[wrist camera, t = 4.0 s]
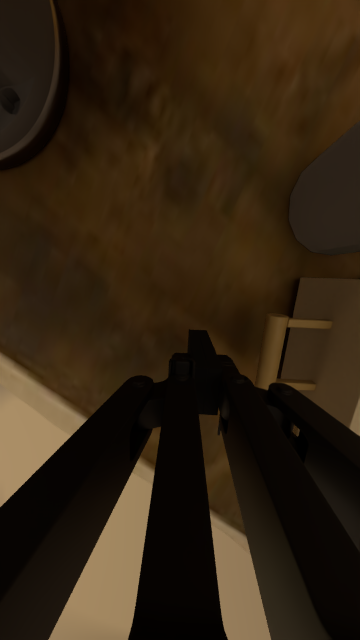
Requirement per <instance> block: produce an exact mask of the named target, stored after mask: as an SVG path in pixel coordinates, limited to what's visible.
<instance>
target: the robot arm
mask: <svg viewBox="0 0 360 640" xmlns="http://www.w3.org/2000/svg"><path fill="white" fill-rule="evenodd" d="M68 81H69V55H68V46H67V38H66V33H65V28H64V24H63V20H62V16H61V12H60V9H59V6H58V3H57V1H56V0H0V169H6V168H10V167H14V166H16V165H19V164H21V163H23V162H25V161H27V160H28V159H30V158H31V157H32V156H34V155H35V154H36V153H37V152H38V151H40V150H41V149H42V148H43V146H44V145H45V144H46V143H47V142H48V140H49V139H50V137H51V136H52V134H53V133H54V131H55V129H56V127H57V125H58V123H59V120H60V118H61V115H62V112H63V109H64V105H65V101H66V96H67V90H68ZM218 407H219V411H220V417H219V426H218V435H220V431H221V432H222V436H223V440H224V445H225V449H226V453H227V457H228V461H229V465H230V470H231V474H232V478H233V482H234V486H235V490H236V495H237V499H238V503H239V507H240V511H241V515H242V520H243V524H244V528H245V532H246V536H247V540H248V545H249V549H250V553H251V557H252V561H253V565H254V570H255V574H256V578H257V582H258V586H259V590H260V594H261V599H262V603H263V607H264V611H265V615H266V620H267V623H268V628H269V632H270V636H271V640H360V436H359V435H357V434H356V433H355V432H353V431H352V430H351V429H349V428H348V427H346V426H345V425H344V424H342V423H341V422H340V421H338V420H337V419H336V418H334V417H333V416H332V415H330V414H329V413H327V412H326V411H325V410H323V409H322V408H321V407H319V406H318V405H317V404H315V403H314V402H313V401H311V400H310V399H308V398H307V397H306V396H304V395H303V394H302V393H300V392H299V391H298V390H296V389H295V388H293V387H291V386H289V385H287V384H284V383H271V384H270V385H269V387H268V390H266V389H262V388H258V387H255V386H254V385H253V383H252V382H251V380H250V379H249V378H247V377H246V376H244V375H241V374H240V373H239V371H238V369H237V368H236V366H235V364H234V363H233V361H232V359H231V358H230V357H228V356H227V355H217V354H216V352H215V349H214V347H213V344H212V342H211V340H210V337H209V335H208V333H207V331H206V330H189V338H188V352H187V353H175V354H174V355H173V356H172V358H171V359H170V361H169V375H168V378H167V379H166V380H164V381H162V382H158V383H154V382H153V379H151V378H150V377H147V376H142V375H139V376H134V377H131V378H129V379H128V380H127V381H126V382H125V383H124V384H123V385H122V386H121V387H120V388H119V389H118V390H117V391H116V392H115V393H114V394H113V395H112V396H111V397H110V398H109V399H108V400H107V401H106V402H105V403H104V404H103V405H102V406H101V407H100V408H99V409H98V410H97V411H96V412H95V413H94V414H93V415H92V416H91V417H90V418H89V419H88V420H87V421H86V422H85V423H84V424H83V425H82V426H81V427H80V428H79V429H78V430H77V431H76V432H75V433H74V434H73V435H72V436H71V437H70V438H69V439H68V440H67V441H66V442H65V443H64V444H63V445H62V446H61V447H60V448H59V449H58V450H57V451H56V452H55V453H54V454H53V455H52V456H51V457H50V458H49V459H48V460H47V461H46V462H45V463H44V464H43V465H42V466H41V467H40V468H39V469H38V470H37V471H36V472H35V473H34V474H33V475H32V476H31V477H30V478H29V479H28V480H27V481H26V482H25V483H24V484H23V485H22V486H21V487H20V488H19V489H18V490H17V491H16V492H15V493H14V494H13V495H12V496H11V497H10V498H9V499H8V500H7V501H6V502H5V503H4V504H3V505H2V506H1V507H0V640H48V639H49V637H50V635H51V633H52V631H53V629H54V627H55V625H56V623H57V621H58V619H59V617H60V615H61V613H62V611H63V609H64V607H65V605H66V603H67V601H68V599H69V597H70V595H71V593H72V591H73V589H74V587H75V585H76V583H77V581H78V579H79V577H80V575H81V573H82V571H83V569H84V567H85V565H86V563H87V561H88V559H89V557H90V555H91V553H92V551H93V549H94V547H95V545H96V543H97V541H98V539H99V537H100V535H101V533H102V531H103V529H104V527H105V525H106V523H107V521H108V519H109V517H110V515H111V513H112V511H113V509H114V507H115V505H116V503H117V501H118V499H119V497H120V495H121V493H122V491H123V489H124V487H125V485H126V483H127V481H128V479H129V477H130V475H131V473H132V471H133V469H134V467H135V465H136V463H137V461H138V459H139V457H140V455H141V453H142V451H143V449H144V447H145V445H146V443H147V441H148V439H149V437H150V435H151V433H152V429H153V428H156V427H160V426H161V432H160V439H159V446H158V453H157V460H156V467H155V474H154V481H153V488H152V495H151V502H150V509H149V516H148V522H147V530H146V536H145V543H144V550H143V557H142V564H141V572H140V578H139V585H138V593H137V599H136V606H135V612H134V618H133V623H132V627H131V631H130V634H129V638H128V640H228V639H227V636H226V633H225V631H224V627H223V621H222V615H221V608H220V601H219V591H218V582H217V574H216V564H215V555H214V547H213V538H212V529H211V520H210V511H209V502H208V493H207V485H206V476H205V467H204V458H203V449H202V440H201V431H200V423H199V414H205V415H217V414H218ZM294 425H295V426H296V427H298V428H299V429H300V432H299V436H298V437H297V436H296V435H295V434H294V433H293V432H292V430H293V426H294Z"/></svg>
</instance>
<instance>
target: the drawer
mask: <svg viewBox="0 0 360 640" xmlns="http://www.w3.org/2000/svg"><path fill="white" fill-rule="evenodd" d="M286 327H291V328H290V333H289V338H288V343H287V348H286V353H285V358H284V363H283V368H282V373H281V378H280V379H277V374H278V369H279V363H280V358H281V353H282V348H283V343H284V338H285V333H286ZM271 383H284V384H287V385H289V386H291V387H293V388H295V389H296V390H298V391H299V392H300V393H302V394H303V395H304V396H306V397H307V398H308V399H310V400H311V401H313V402H314V403H315V404H317V405H318V406H319V407H321V408H322V409H323V410H325V411H326V412H327V413H329V414H330V415H332V416H333V417H334V418H336V419H337V420H338V421H340V422H341V423H342V424H344V425H345V426H346V427H348V428H349V429H351V430H352V431H353V432H355V433H356V434H357V435H359V436H360V279H336V278H306V277H301V278H300V283H299V288H298V293H297V298H296V303H295V308H294V313H293V318H288V316H286V315H283V314H277V313H268V314H267V315H266V321H265V327H264V333H263V339H262V345H261V351H260V357H259V363H258V370H257V376H256V382H255V387H258V388H262V389H266V390H268V387H269V385H270V384H271Z"/></svg>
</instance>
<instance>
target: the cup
mask: <svg viewBox="0 0 360 640" xmlns="http://www.w3.org/2000/svg"><path fill="white" fill-rule="evenodd" d="M289 222H290V225H291V227H292V230H293V232H294V235H295V237H296V240H298V241H299V242H300V243H301V244H302V245H304V246H305V247H306V248H307V249H308V250H310V251H311V252H315V253H321V254H327V255H337V254H345V253H353V252H360V121H359V122H358V123H356V124H355V125H354V126H353V127H352V128H351V129H350V130H348V131H347V132H346V133H345V134H344V135H343V136H341V137H340V138H339V139H338V140H337V141H336V142H335V143H333V144H332V145H331V146H330V147H329V148H328V149H326V150H325V151H324V152H323V153H322V154H321V155H320V156H319V157H318V158H316V159H315V160H314V161H313V162H312V163H311V164H310V165H309V166H308V167H307V168H306V169H305V170H304V171H302V173H301V175H300V177H299V179H298V181H297V183H296V185H295V187H294V189H293V191H292V193H291V195H290V208H289Z"/></svg>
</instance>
